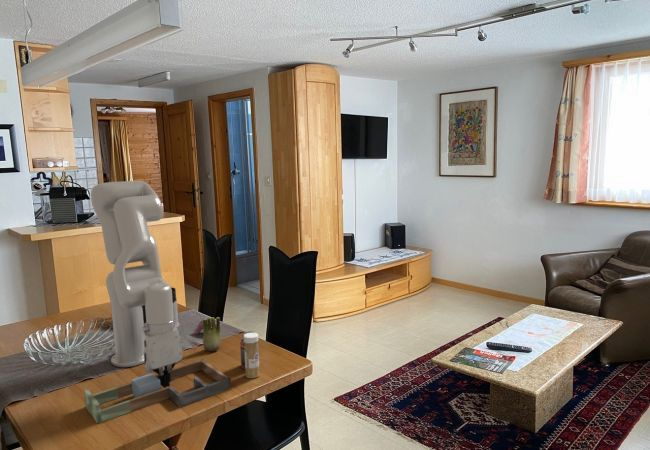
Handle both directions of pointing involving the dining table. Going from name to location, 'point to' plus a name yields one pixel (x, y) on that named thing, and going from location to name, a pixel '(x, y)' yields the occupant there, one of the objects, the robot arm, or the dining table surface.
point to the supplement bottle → (244, 349)
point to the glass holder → (175, 308)
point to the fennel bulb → (212, 334)
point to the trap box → (157, 392)
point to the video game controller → (202, 327)
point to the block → (145, 385)
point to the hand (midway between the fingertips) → (165, 385)
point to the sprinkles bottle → (251, 355)
